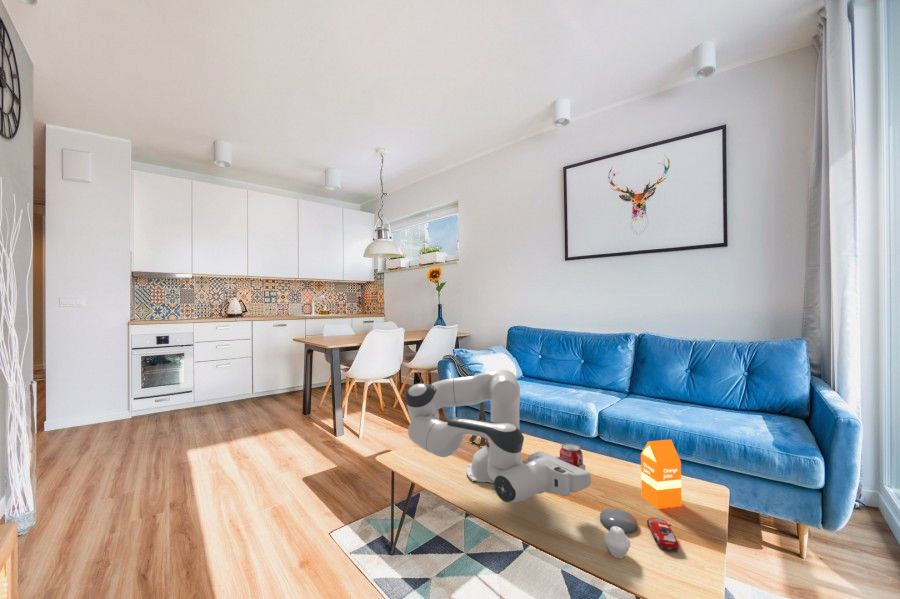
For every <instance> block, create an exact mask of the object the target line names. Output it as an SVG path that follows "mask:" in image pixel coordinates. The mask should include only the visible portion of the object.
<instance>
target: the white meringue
mask: <svg viewBox="0 0 900 599" xmlns="http://www.w3.org/2000/svg"><path fill="white" fill-rule="evenodd" d="M604 541H605V544H606V547H607V549H608V550H609V553H610V554H611V556H613V557H615V556H616V557H615V558H617V557H623V558H625V556H626V554H627V553H628V551H629V549H630V548H631V540H630V539H629V537H628V536H627V534H625V533H624V531H623V529H622V528H620V527H616V526H613V527H611V528H610V530H609V531H608V532H606V534H605V535H604Z"/></svg>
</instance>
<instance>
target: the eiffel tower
mask: <svg viewBox="0 0 900 599" xmlns="http://www.w3.org/2000/svg"><path fill="white" fill-rule="evenodd" d="M486 416H487V415H486V409H485V401H484V402H481V403H479V412H478V419H477V420H482V421H487V417H486ZM477 438H478V436H475V435H471V437H470V438H469V440H468V441H470V442H473V441H475V440H476V439H477ZM479 445H480V446H485V445H486V440H485V439H484V437H481V439H480V442H479Z"/></svg>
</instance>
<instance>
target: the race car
mask: <svg viewBox="0 0 900 599" xmlns="http://www.w3.org/2000/svg"><path fill="white" fill-rule="evenodd" d="M646 522H647V527H648V529H649V531H650V533H651V536H652V537H653V539H654V541H655V543H656V546H657V547H659V548H660V549H661V550H666V551H674V552H678V551H679V550H680V548H679V542H678V539H677V537H676V535H675V534H674V532H673V530H672V529H671V528H672V524H668V522H667V521H666V520H665V519H662V518H660V517H649V518H647V520H646Z"/></svg>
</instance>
